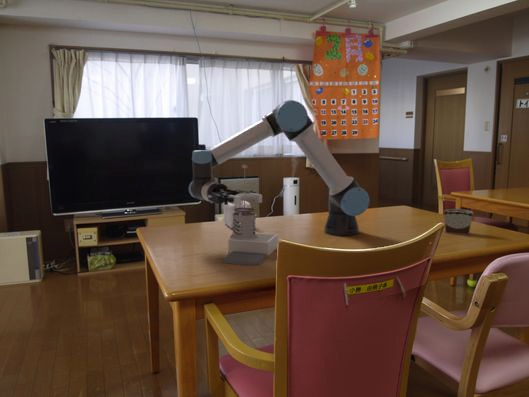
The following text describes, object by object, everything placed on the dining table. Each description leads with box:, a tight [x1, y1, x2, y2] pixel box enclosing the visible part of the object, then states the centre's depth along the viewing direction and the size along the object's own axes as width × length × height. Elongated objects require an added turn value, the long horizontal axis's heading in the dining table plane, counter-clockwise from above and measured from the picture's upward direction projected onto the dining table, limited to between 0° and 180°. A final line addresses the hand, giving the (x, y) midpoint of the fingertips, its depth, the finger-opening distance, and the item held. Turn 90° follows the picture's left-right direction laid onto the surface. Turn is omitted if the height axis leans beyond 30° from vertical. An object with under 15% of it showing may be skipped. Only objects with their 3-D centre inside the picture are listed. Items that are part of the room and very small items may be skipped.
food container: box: [442, 208, 475, 236], centre depth 187 cm, size 12×6×10 cm, turn 65°
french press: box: [229, 164, 258, 240], centre depth 146 cm, size 10×12×25 cm
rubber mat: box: [220, 251, 268, 267], centre depth 149 cm, size 13×11×1 cm
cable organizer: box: [222, 201, 252, 229], centre depth 204 cm, size 15×11×12 cm
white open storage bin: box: [227, 232, 279, 257], centre depth 161 cm, size 15×13×5 cm
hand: (250, 199), depth 142 cm, fingers closed on french press, 8 cm apart
